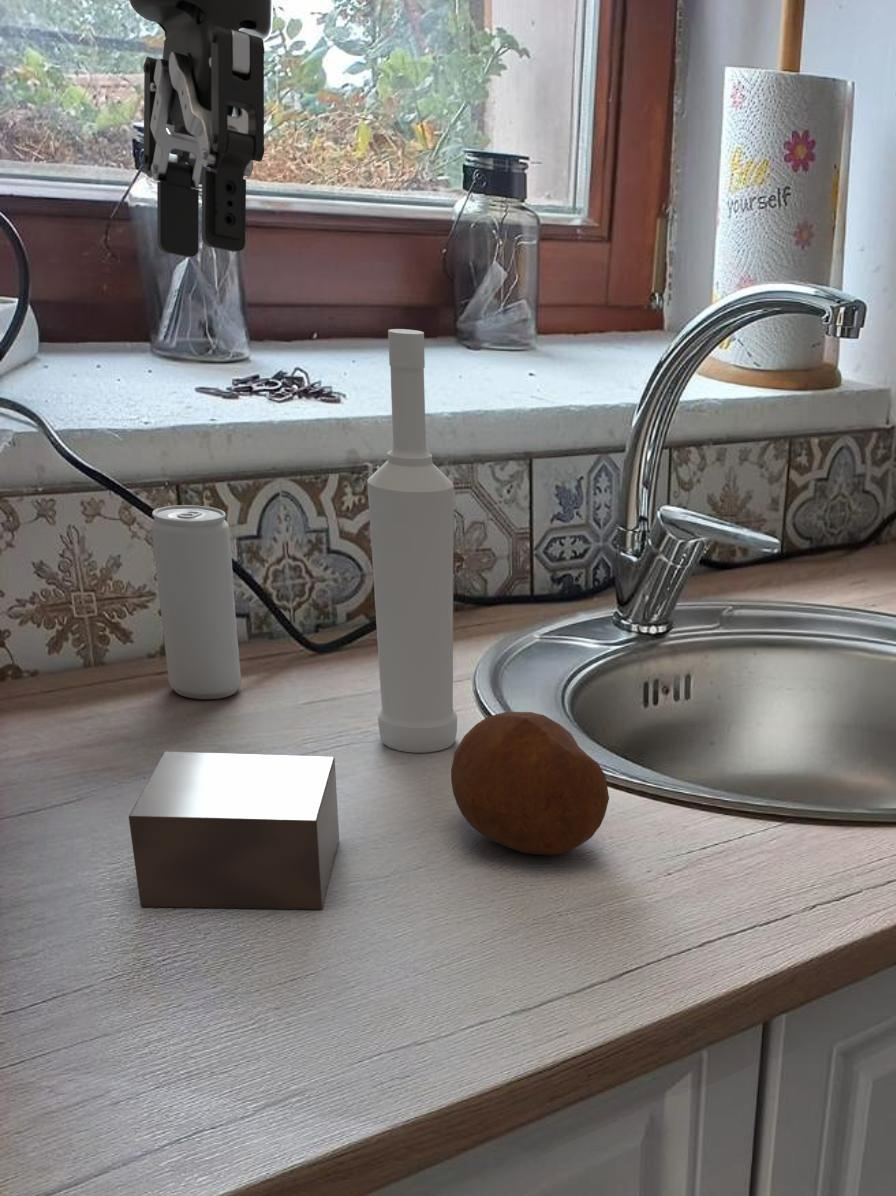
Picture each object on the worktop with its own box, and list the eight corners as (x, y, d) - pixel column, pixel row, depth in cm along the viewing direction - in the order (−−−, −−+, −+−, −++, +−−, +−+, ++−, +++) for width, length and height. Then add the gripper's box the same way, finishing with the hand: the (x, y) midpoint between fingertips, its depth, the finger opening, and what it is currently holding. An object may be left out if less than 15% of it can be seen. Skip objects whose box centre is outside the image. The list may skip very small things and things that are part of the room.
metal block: (140, 907, 78) (128, 816, 75) (173, 835, 86) (163, 750, 83) (322, 910, 79) (316, 821, 77) (339, 839, 87) (334, 756, 85)
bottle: (471, 735, 103) (467, 333, 91) (433, 759, 99) (422, 340, 86) (404, 721, 104) (390, 322, 92) (362, 744, 100) (342, 329, 88)
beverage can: (156, 695, 105) (135, 515, 99) (190, 675, 109) (172, 501, 103) (223, 705, 104) (206, 524, 98) (255, 684, 108) (240, 510, 102)
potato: (547, 891, 84) (549, 761, 80) (406, 834, 88) (402, 710, 85) (643, 846, 90) (649, 724, 86) (506, 795, 95) (506, 678, 91)
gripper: (95, -71, 87) (99, 244, 92) (169, -127, 76) (169, 232, 81) (228, -29, 91) (225, 269, 96) (316, -78, 81) (307, 260, 86)
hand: (200, 252), depth 89 cm, fingers open, 8 cm apart
